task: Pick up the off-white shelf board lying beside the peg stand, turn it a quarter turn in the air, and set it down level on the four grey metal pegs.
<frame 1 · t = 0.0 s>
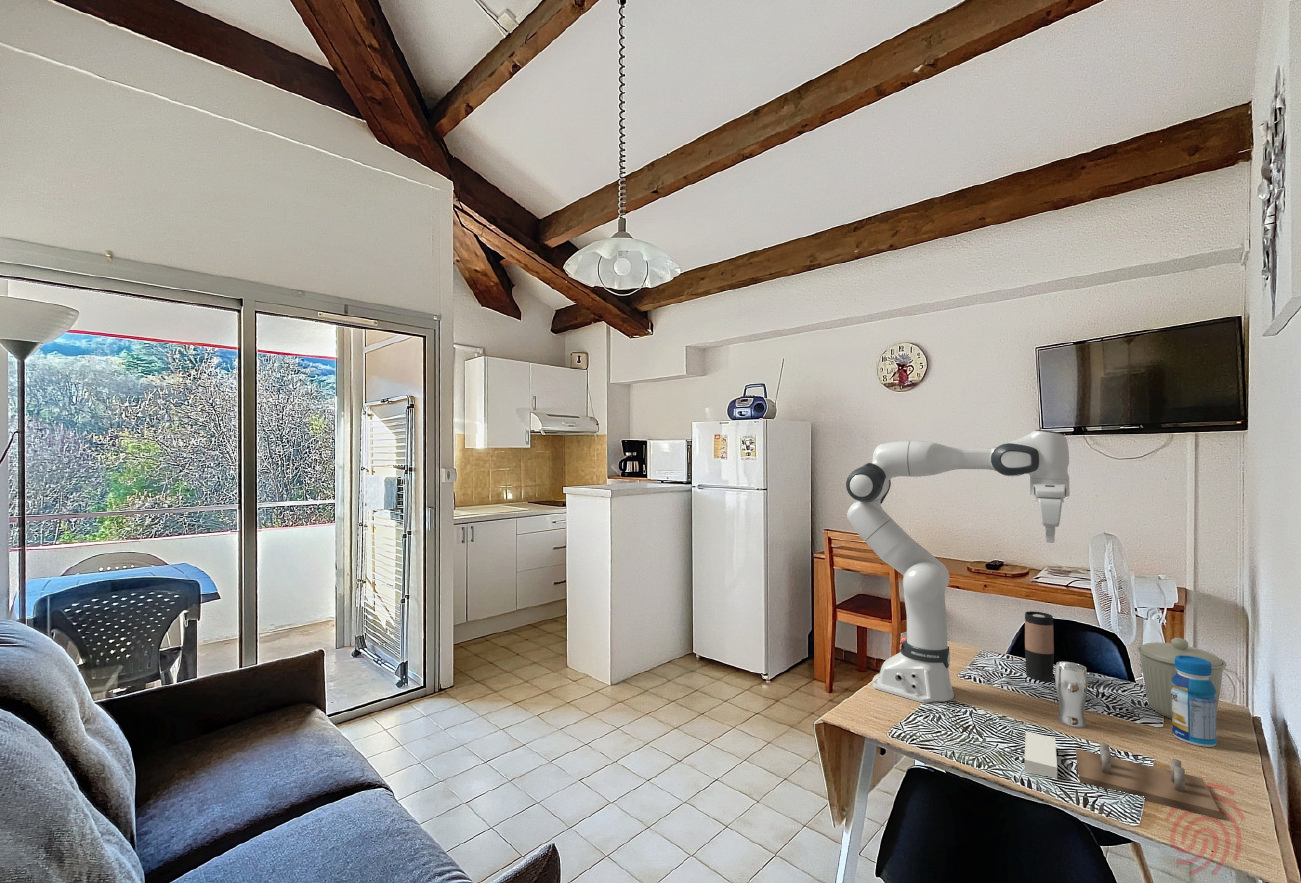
hand: (1050, 540, 157), 48 cm above the table, tool pointing down, fingers open, 8 cm apart
beer glass: (1071, 723, 153), on the table
canister: (1180, 716, 157), on the table
shelf board: (1040, 761, 135), on the table
peg stand: (1140, 784, 125), on the table
beverage bottle: (1194, 740, 144), on the table
travel mug: (1039, 677, 184), on the table
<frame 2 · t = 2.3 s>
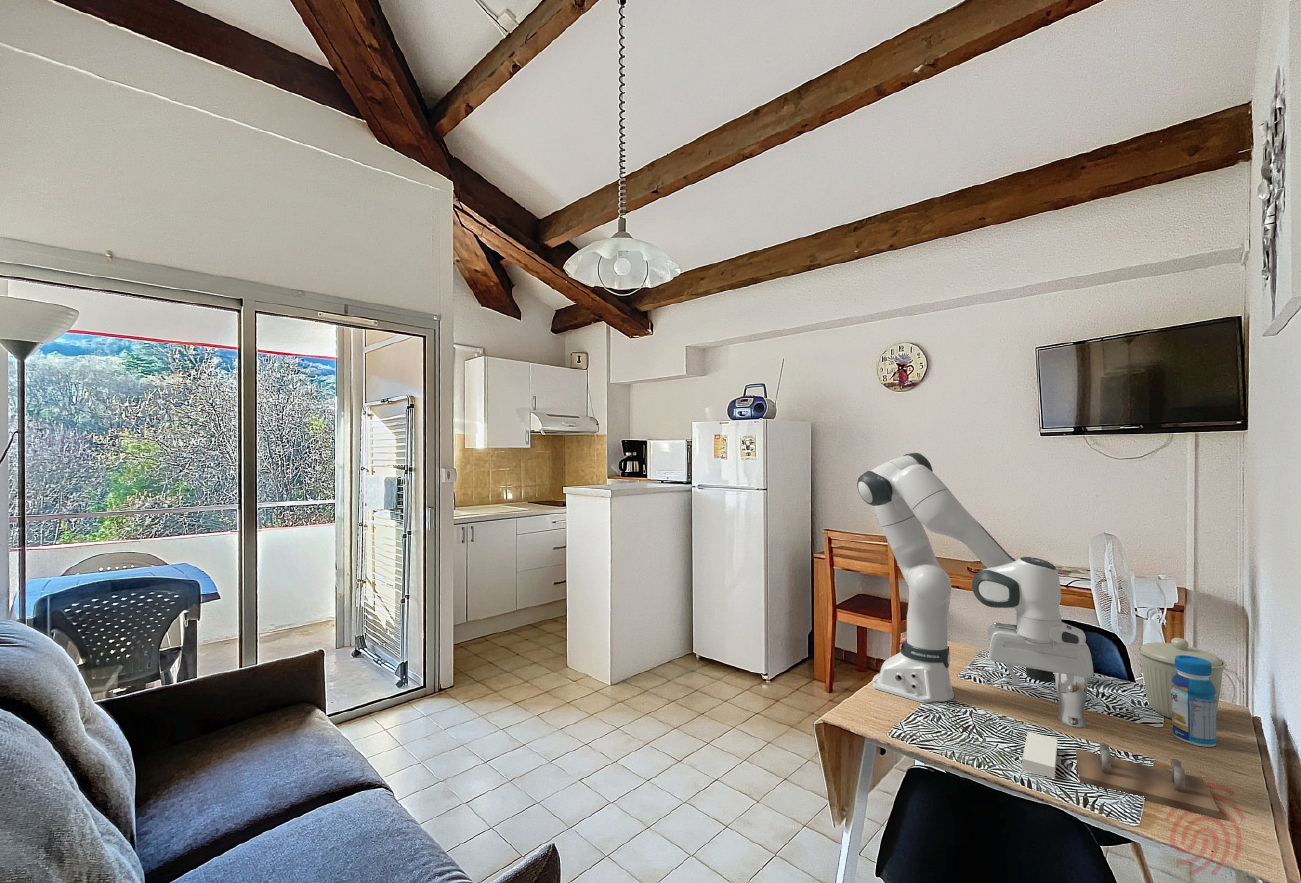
hand: (1039, 687, 135), 17 cm above the table, tool pointing down, fingers open, 8 cm apart
nothing on the table moved.
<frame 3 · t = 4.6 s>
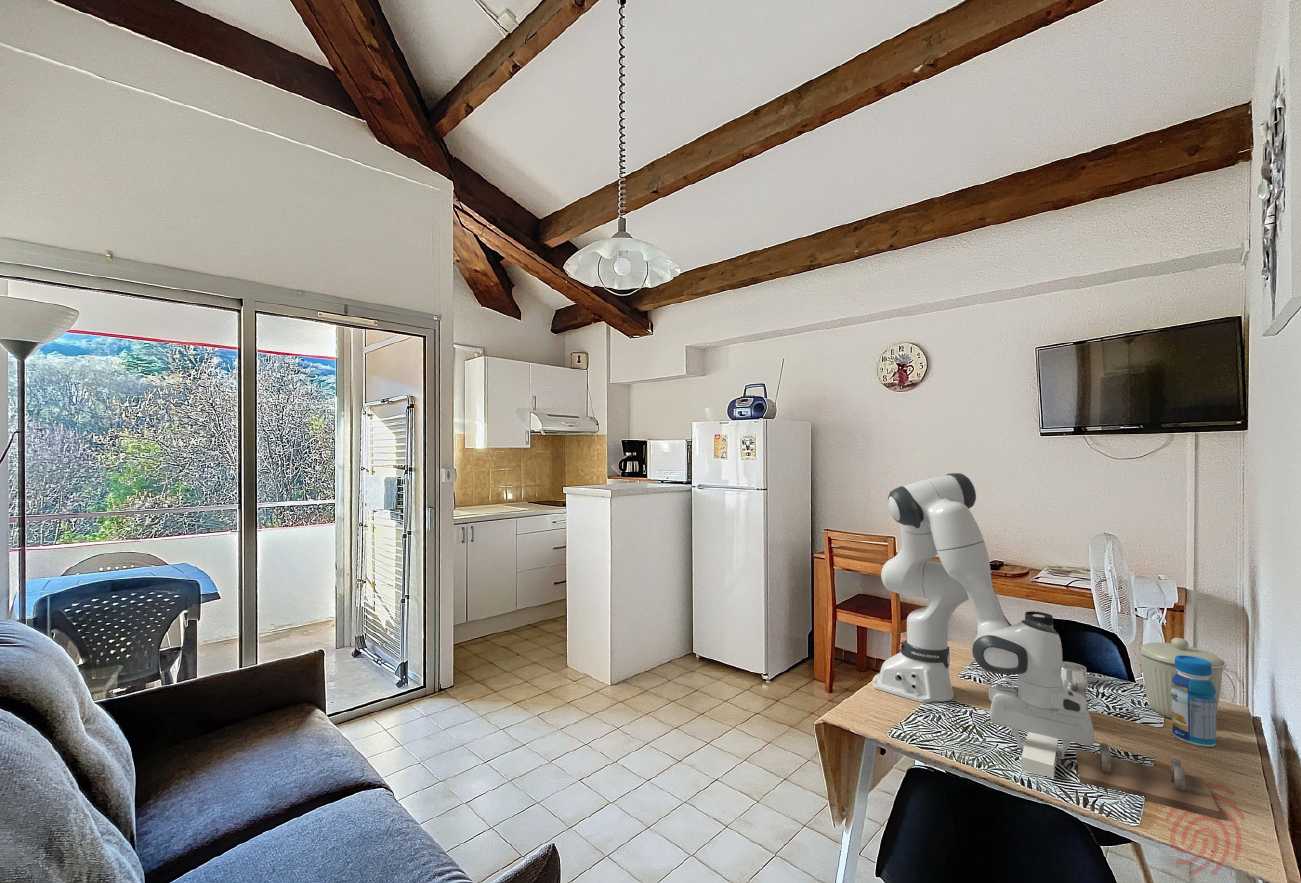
hand: (1040, 752, 135), 2 cm above the table, tool pointing down, fingers closed on shelf board, 6 cm apart
shelf board: (1040, 760, 135), on the table, touching gripper
everything else where it was.
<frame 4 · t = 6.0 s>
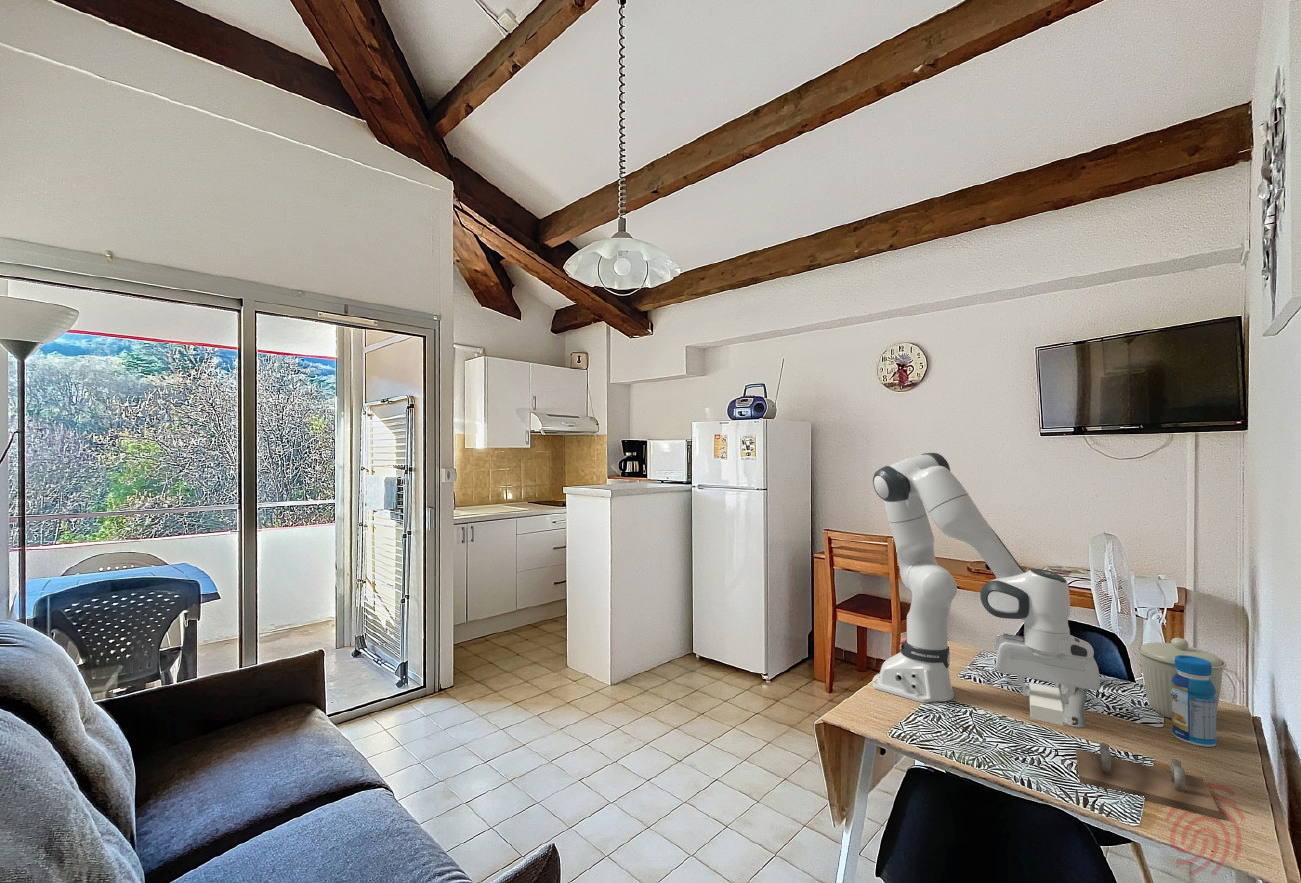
hand: (1045, 699, 136), 14 cm above the table, tool pointing down, fingers closed on shelf board, 6 cm apart
shelf board: (1045, 709, 135), point 11 cm above the table, touching gripper
everything else where it was.
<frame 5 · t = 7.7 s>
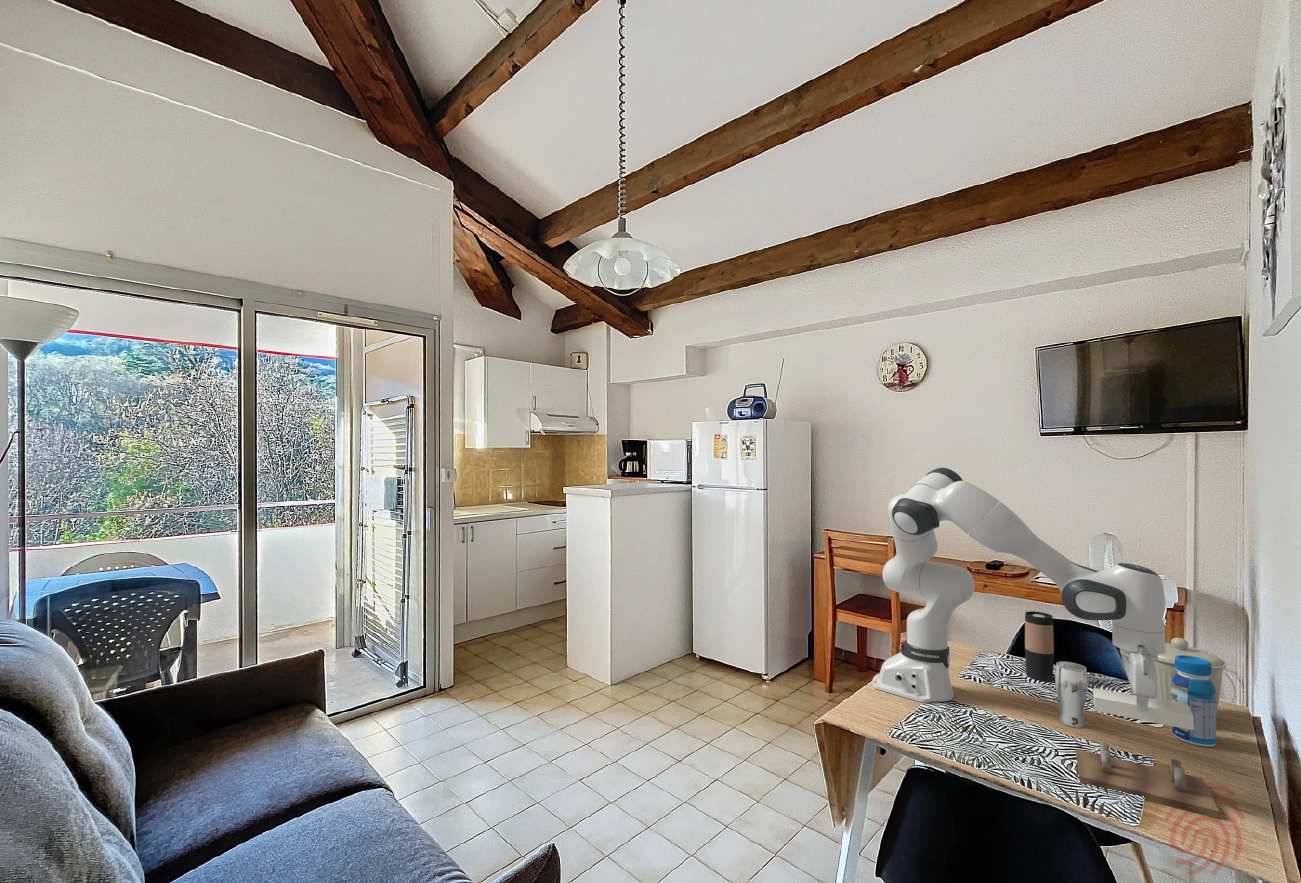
hand: (1139, 704, 125), 17 cm above the table, tool pointing down, fingers closed on shelf board, 6 cm apart
shelf board: (1140, 714, 125), point 15 cm above the table, touching gripper
everything else where it was.
when the fingers open (9 cm above the table, at t = 10.4 s): shelf board stays where it is, resting on peg stand.
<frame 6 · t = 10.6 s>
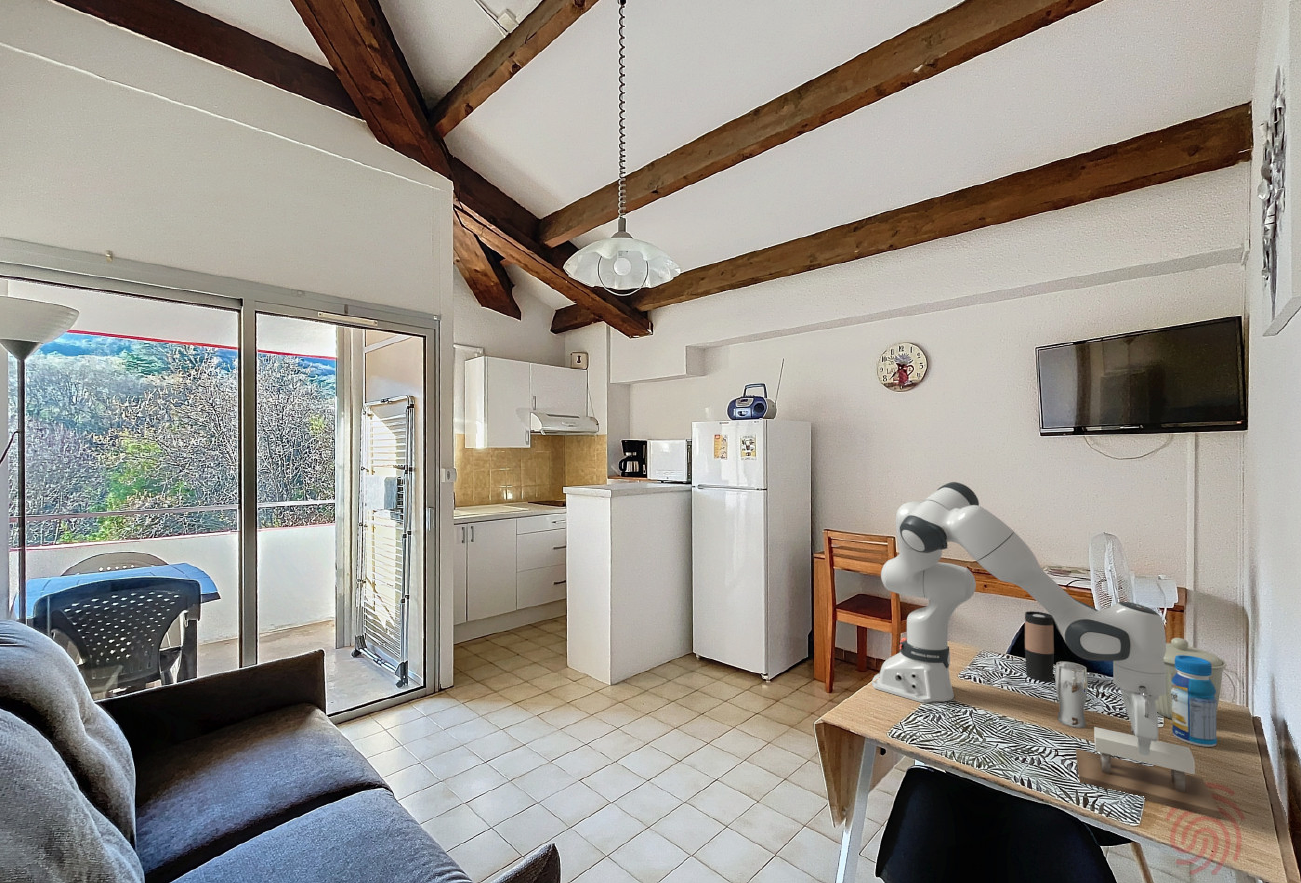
hand: (1140, 744, 125), 9 cm above the table, tool pointing down, fingers open, 8 cm apart
shelf board: (1141, 756, 125), point 6 cm above the table, touching peg stand
everything else where it was.
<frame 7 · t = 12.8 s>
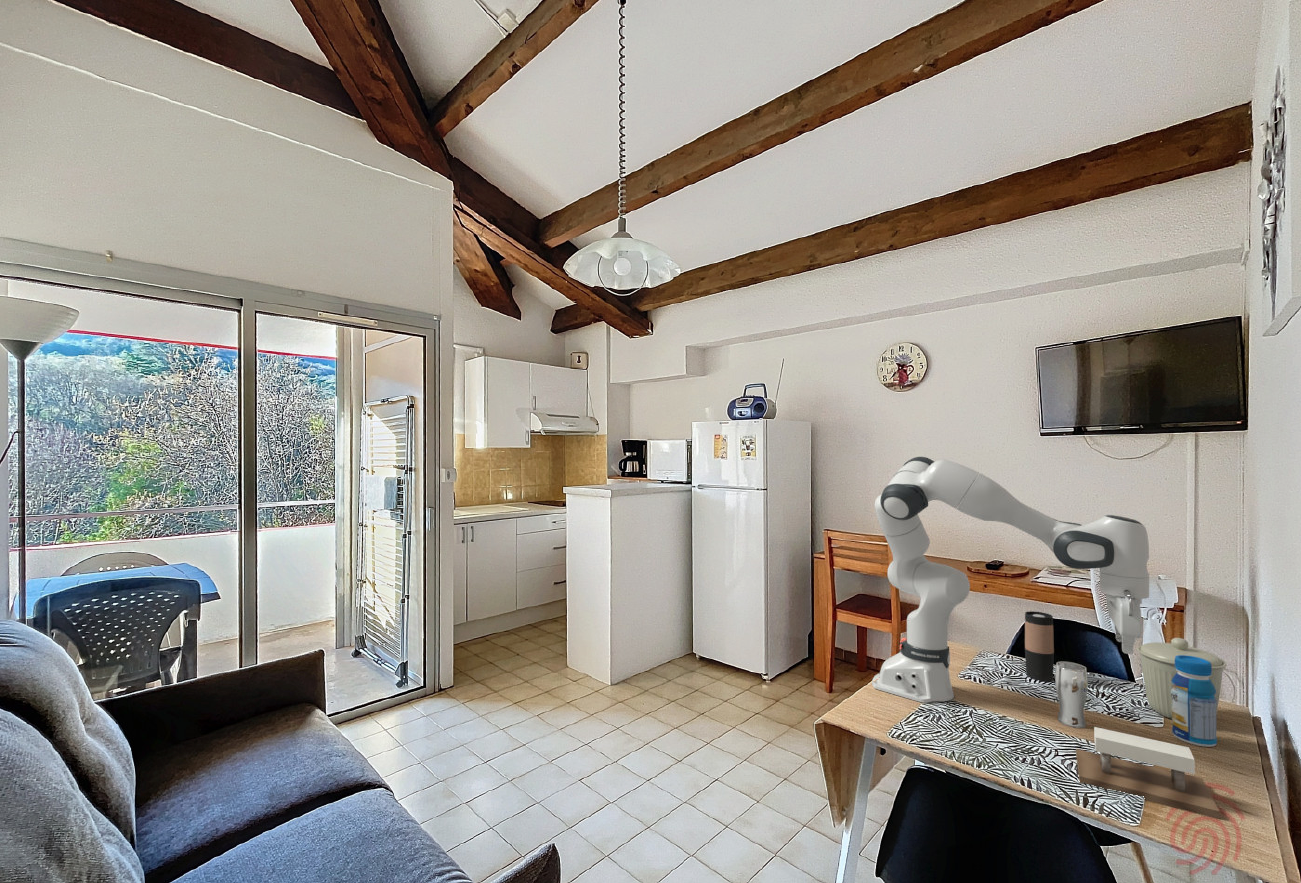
hand: (1124, 647, 133), 27 cm above the table, tool pointing down, fingers open, 8 cm apart
nothing on the table moved.
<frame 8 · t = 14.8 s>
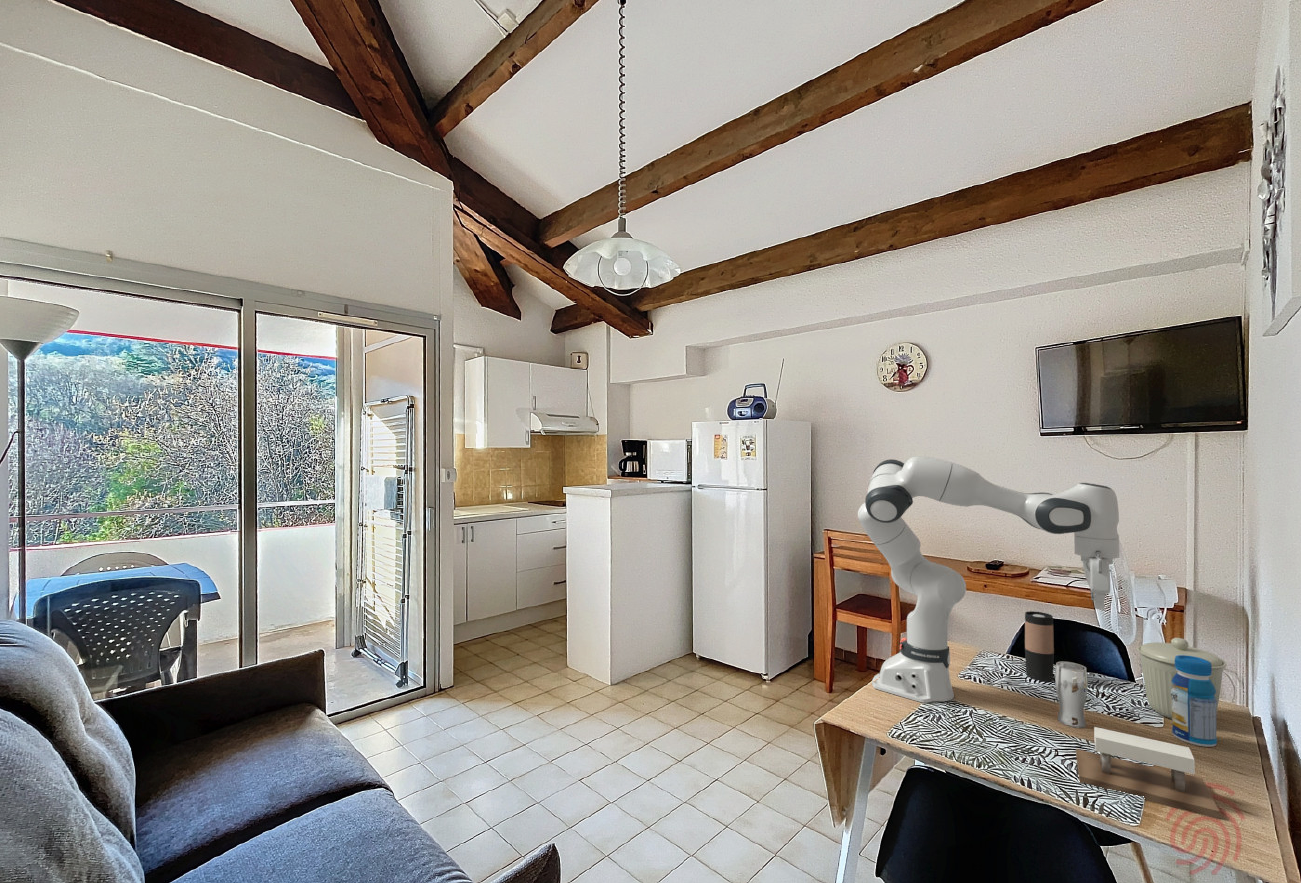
hand: (1097, 604, 143), 34 cm above the table, tool pointing down, fingers open, 8 cm apart
nothing on the table moved.
at the end: shelf board 0.2 cm off-centre on the peg stand, point 6.0 cm above the peg stand's base; shelf board tilted 0°; the gripper is holding nothing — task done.
